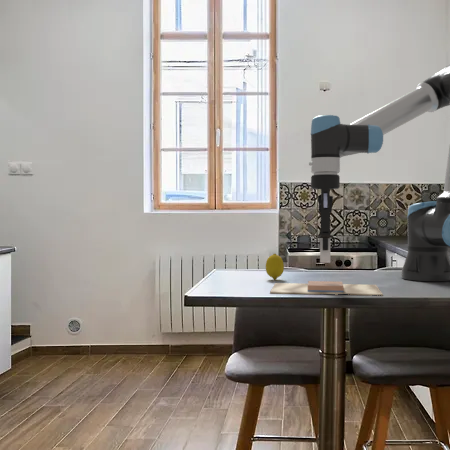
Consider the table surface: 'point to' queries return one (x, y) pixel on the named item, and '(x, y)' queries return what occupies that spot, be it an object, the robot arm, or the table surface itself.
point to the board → (303, 289)
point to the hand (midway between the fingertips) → (325, 262)
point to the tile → (325, 286)
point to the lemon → (274, 266)
